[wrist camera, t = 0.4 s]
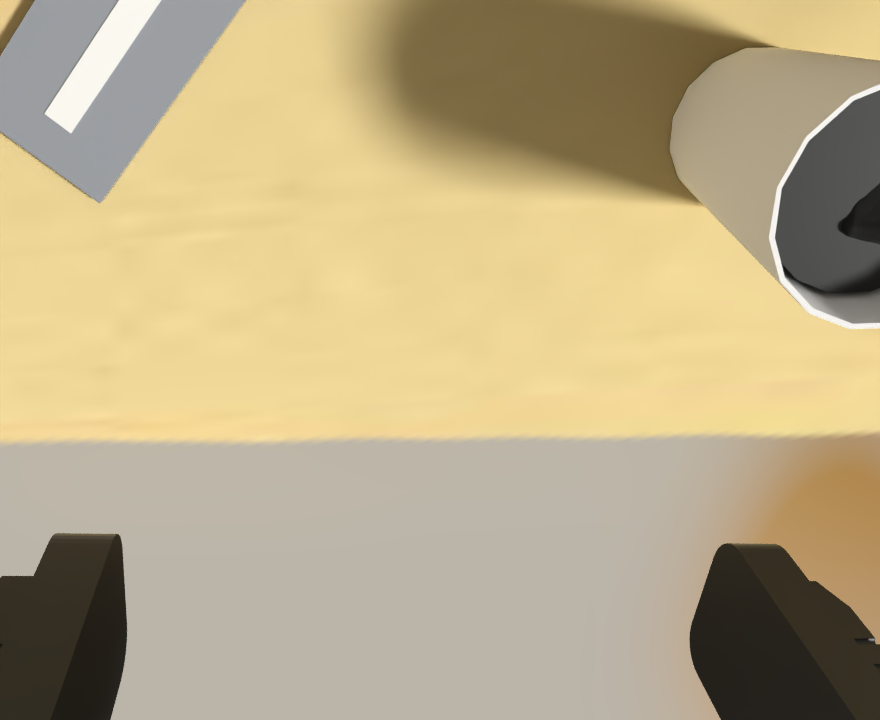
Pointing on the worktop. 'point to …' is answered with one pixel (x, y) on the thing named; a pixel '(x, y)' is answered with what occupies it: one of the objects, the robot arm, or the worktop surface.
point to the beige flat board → (101, 78)
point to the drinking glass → (792, 170)
